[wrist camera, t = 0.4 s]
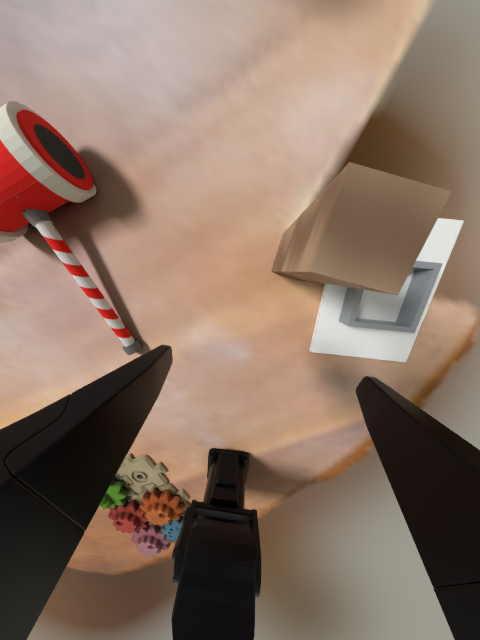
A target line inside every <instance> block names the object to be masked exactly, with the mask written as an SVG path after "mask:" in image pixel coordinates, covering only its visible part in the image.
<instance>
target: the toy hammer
mask: <svg viewBox="0 0 480 640" xmlns="http://www.w3.org/2000/svg"><path fill="white" fill-rule="evenodd" d="M95 194H96V187H95V185H94V183H93V179H92V176H91V174H90V172H89V170H88V168H87V166H86V165H85V163H84V162H83V160H82V159H81V157H80V156H79V155H78V153H77V152H76V151H75V150H74V148H73V147H72V146H71V145H70V144H69V143H68V141H67V140H66V139H65V138H64V137H63V136H62V135H61V134H60V133H59V132H58V131H57V130H56V129H55V128H54V127H52V126H51V125H50V124H49V123H48V122H47V121H45V120H44V119H43V118H42V117H41V116H39V115H38V114H37V113H35V112H34V111H33V110H31V109H29V108H28V107H26V106H25V105H22V104H20V103H18V102H14V101H10V102H8V103H6V104H5V105H3V106H2V107H1V108H0V243H3V242H10V241H13V240H15V239H17V238H19V237H20V236H22V235H24V234H25V233H26V232H27V231H28V227H29V226H28V224H29V223H31V224H32V225H33V226H34V227H36V228H37V229H38V230H39V232H40V233H41V234H42V236H43V237H44V239H45V240H46V241H47V243H48V244H49V245H50V247H51V248H52V249H53V251H54V252H55V253H56V255H57V256H58V257H59V259H60V260H61V261H62V263H63V264H64V265H65V267H66V268H67V269H68V271H69V272H70V273H71V275H72V276H73V277H74V279H75V280H76V281H77V283H78V284H79V285H80V287H81V288H82V289H83V291H84V292H85V294H86V295H87V296H88V298H89V299H90V300H91V302H92V303H93V304H94V306H95V307H96V308H97V310H98V311H99V312H100V314H101V315H102V316H103V318H104V319H105V320H106V322H107V323H108V324H109V326H110V327H111V328H112V330H113V331H114V332H115V334H116V335H117V336H118V338H119V339H120V340H121V342H122V343H123V344H124V347H123V349H124V351H125V352H126V353H127V355H131V354H134V353H135V352H137V351H139V350H140V349H141V348H142V345H141V344H140V342H139V341H138V340H134V338H133V337H132V335H131V334H130V333H129V331H128V330H127V328H126V327H125V326H124V324H123V323H122V321H121V320H120V319H119V317H118V316H117V314H116V313H115V312H114V310H113V309H112V307H111V306H110V305H109V303H108V302H107V300H106V299H105V297H104V296H103V295H102V293H101V292H100V290H99V289H98V288H97V286H96V285H95V283H94V282H93V281H92V279H91V278H90V276H89V275H88V274H87V272H86V271H85V269H84V268H83V266H82V265H81V264H80V262H79V261H78V259H77V258H76V257H75V255H74V254H73V252H72V251H71V250H70V248H69V247H68V245H67V244H66V243H65V241H64V240H63V238H62V237H61V236H60V234H59V233H58V231H57V230H56V228H55V227H54V226H53V222H52V220H51V217H50V215H49V212H51V211H52V210H54V209H56V208H58V207H59V206H61V205H63V204H65V203H66V202H68V201H72V202H77V203H80V202H83V201H85V200H87V199H88V198H90V197H92V196H94V195H95Z"/></svg>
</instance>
